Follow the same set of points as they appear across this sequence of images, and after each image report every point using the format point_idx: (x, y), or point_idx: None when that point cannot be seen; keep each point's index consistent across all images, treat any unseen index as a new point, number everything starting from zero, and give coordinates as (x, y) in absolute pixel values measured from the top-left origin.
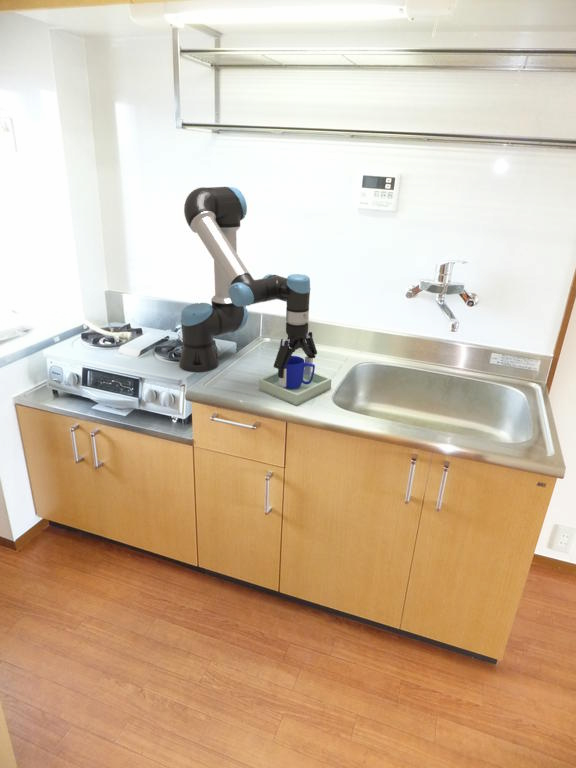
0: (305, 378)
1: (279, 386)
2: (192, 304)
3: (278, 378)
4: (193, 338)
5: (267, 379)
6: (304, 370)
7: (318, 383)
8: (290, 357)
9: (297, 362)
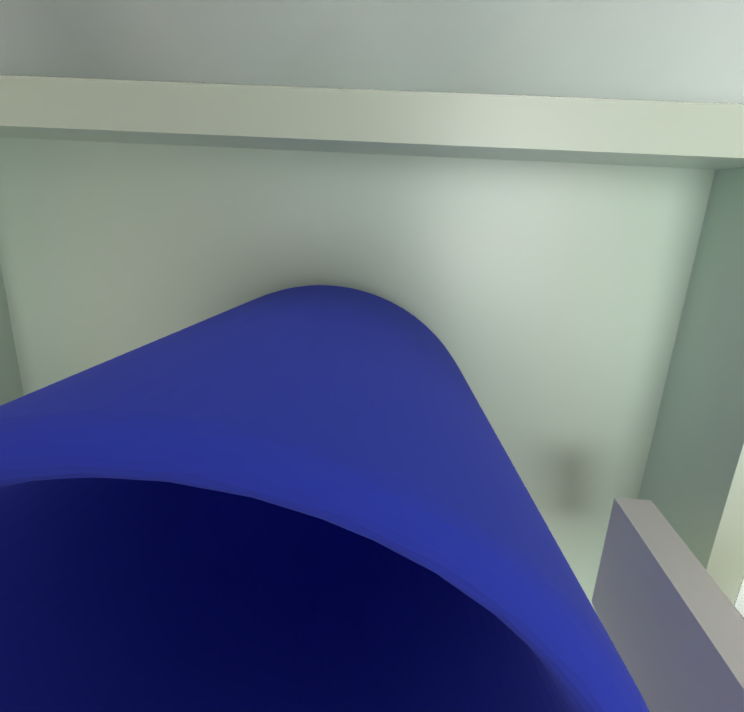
0: (662, 405)
1: (203, 292)
2: None
3: (323, 148)
4: None
5: (11, 128)
6: (639, 539)
7: None
8: (455, 585)
9: (522, 663)
